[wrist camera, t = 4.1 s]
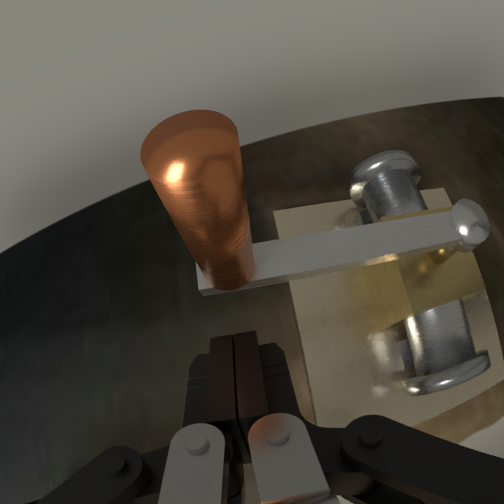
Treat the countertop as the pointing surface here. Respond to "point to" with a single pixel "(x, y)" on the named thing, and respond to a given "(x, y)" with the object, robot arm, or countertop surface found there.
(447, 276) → the valve
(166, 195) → the valve lever
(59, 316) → the countertop surface
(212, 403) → the robot arm
